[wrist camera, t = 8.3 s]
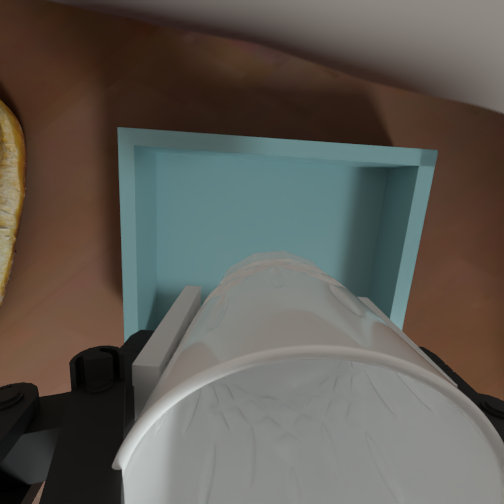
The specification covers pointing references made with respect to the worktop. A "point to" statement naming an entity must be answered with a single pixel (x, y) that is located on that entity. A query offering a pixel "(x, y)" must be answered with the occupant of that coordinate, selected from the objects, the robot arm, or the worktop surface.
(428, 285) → the worktop surface
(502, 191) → the worktop surface
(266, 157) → the walled box
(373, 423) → the white cup
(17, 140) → the bread
